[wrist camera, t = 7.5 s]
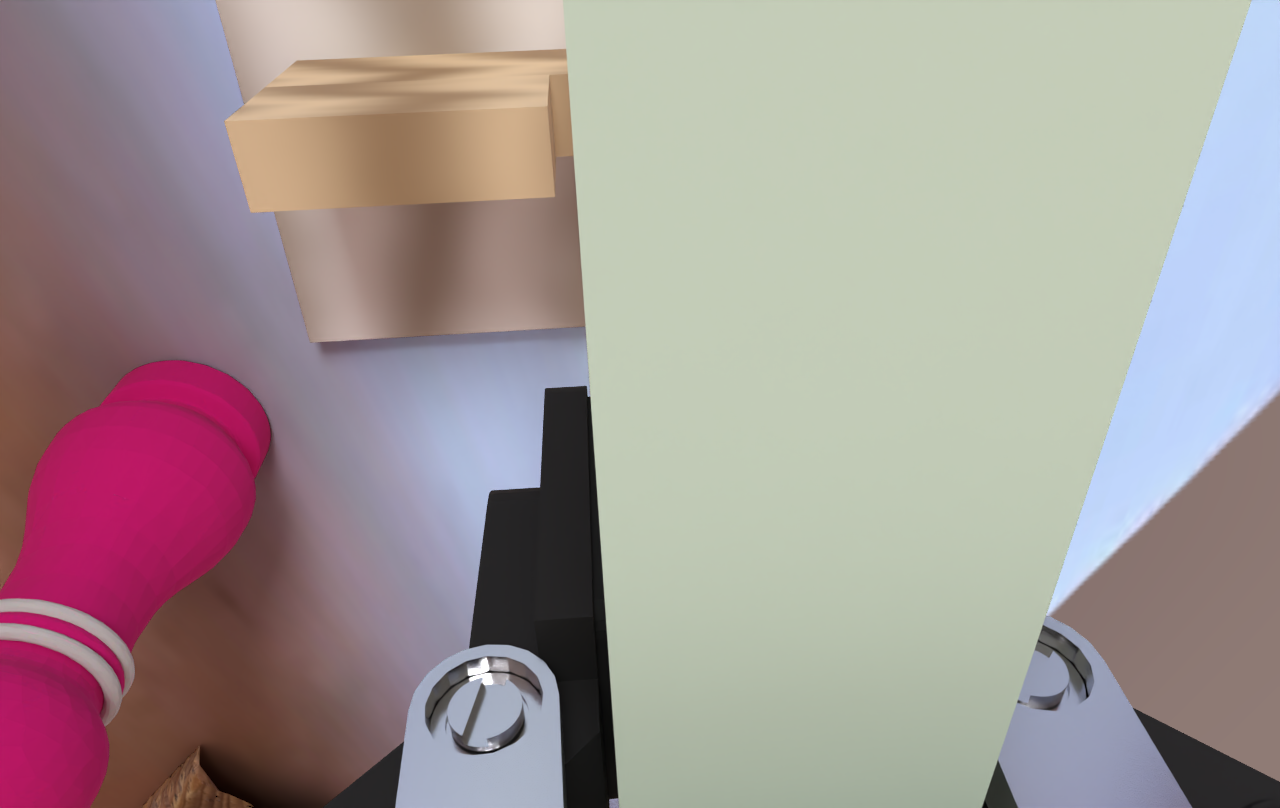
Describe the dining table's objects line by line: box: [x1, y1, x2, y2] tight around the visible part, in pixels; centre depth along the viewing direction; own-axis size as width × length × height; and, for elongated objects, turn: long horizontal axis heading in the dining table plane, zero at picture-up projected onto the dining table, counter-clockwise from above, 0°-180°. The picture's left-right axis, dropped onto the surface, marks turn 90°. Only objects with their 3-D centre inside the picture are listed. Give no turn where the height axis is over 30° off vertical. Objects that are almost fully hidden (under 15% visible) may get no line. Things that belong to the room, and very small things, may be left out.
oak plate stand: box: [216, 0, 586, 343], centre depth 26 cm, size 24×18×8 cm
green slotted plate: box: [563, 0, 1251, 808], centre depth 13 cm, size 17×2×15 cm, turn 1°
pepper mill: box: [0, 360, 271, 808], centre depth 27 cm, size 7×7×20 cm
